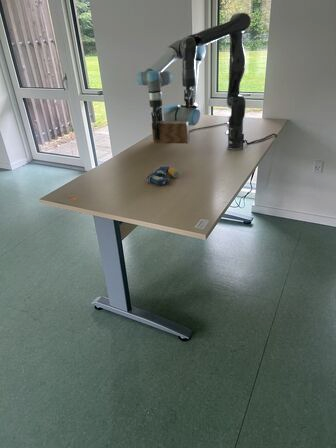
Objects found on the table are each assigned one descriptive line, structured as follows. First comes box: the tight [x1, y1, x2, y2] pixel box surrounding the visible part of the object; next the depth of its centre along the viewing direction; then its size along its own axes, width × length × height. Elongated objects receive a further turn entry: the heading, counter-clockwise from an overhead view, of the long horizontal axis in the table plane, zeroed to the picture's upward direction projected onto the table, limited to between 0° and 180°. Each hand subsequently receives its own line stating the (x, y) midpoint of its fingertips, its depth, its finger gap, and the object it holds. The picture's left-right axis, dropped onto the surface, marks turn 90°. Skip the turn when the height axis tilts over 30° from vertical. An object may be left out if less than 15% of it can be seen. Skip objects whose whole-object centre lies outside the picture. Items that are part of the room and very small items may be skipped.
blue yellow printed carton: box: [146, 164, 180, 186], centre depth 185 cm, size 21×4×15 cm
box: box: [151, 120, 190, 145], centre depth 206 cm, size 22×6×12 cm, turn 74°
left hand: (159, 137), depth 210 cm, fingers closed on box, 6 cm apart
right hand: (189, 106), depth 198 cm, fingers open, 8 cm apart
